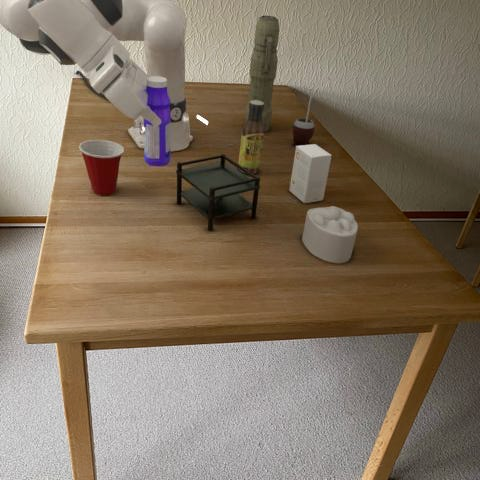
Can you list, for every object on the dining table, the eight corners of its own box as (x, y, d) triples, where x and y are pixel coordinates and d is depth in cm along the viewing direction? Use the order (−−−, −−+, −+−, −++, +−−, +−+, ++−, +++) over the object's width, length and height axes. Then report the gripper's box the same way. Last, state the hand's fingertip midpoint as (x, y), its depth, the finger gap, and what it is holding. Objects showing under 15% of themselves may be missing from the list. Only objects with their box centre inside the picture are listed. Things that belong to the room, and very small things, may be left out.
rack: (175, 203, 131) (176, 162, 125) (221, 192, 138) (223, 153, 132) (209, 231, 121) (211, 189, 115) (256, 218, 128) (261, 177, 122)
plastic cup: (129, 199, 131) (126, 154, 124) (85, 201, 128) (80, 155, 121) (124, 180, 139) (121, 137, 132) (82, 182, 136) (77, 138, 129)
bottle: (145, 154, 114) (143, 72, 104) (171, 155, 115) (171, 74, 105) (143, 167, 109) (140, 82, 98) (170, 169, 109) (170, 84, 99)
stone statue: (264, 121, 186) (276, 13, 164) (274, 134, 177) (288, 21, 156) (240, 122, 183) (249, 12, 162) (249, 134, 174) (260, 20, 153)
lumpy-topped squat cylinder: (335, 231, 126) (342, 199, 121) (361, 260, 117) (370, 227, 111) (297, 235, 123) (302, 203, 118) (320, 265, 114) (328, 232, 108)
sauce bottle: (243, 176, 147) (249, 106, 135) (234, 167, 152) (240, 99, 140) (263, 174, 150) (271, 105, 138) (254, 165, 154) (261, 98, 142)
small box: (323, 200, 139) (332, 155, 131) (303, 204, 137) (311, 157, 129) (307, 187, 145) (315, 143, 137) (288, 190, 142) (295, 145, 134)
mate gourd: (297, 149, 167) (304, 102, 158) (285, 140, 173) (292, 94, 164) (316, 147, 170) (324, 101, 161) (304, 138, 175) (312, 93, 166)
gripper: (103, 61, 108) (151, 110, 115) (90, 90, 92) (146, 145, 99) (124, 39, 106) (171, 91, 113) (114, 65, 90) (170, 123, 97)
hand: (160, 116), depth 106 cm, fingers closed on bottle, 7 cm apart
